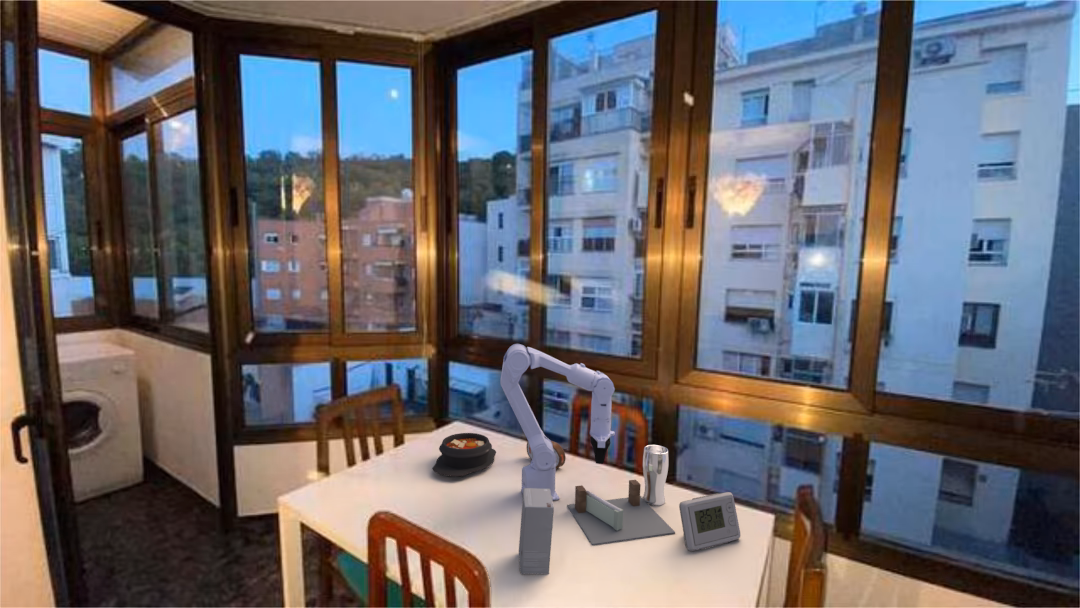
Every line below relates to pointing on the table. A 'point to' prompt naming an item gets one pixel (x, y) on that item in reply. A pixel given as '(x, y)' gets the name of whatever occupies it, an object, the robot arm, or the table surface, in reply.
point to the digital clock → (709, 521)
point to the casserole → (464, 454)
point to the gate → (604, 510)
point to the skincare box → (536, 531)
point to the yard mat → (635, 523)
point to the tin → (557, 450)
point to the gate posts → (632, 497)
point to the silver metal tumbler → (655, 473)
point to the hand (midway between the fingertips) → (599, 462)
